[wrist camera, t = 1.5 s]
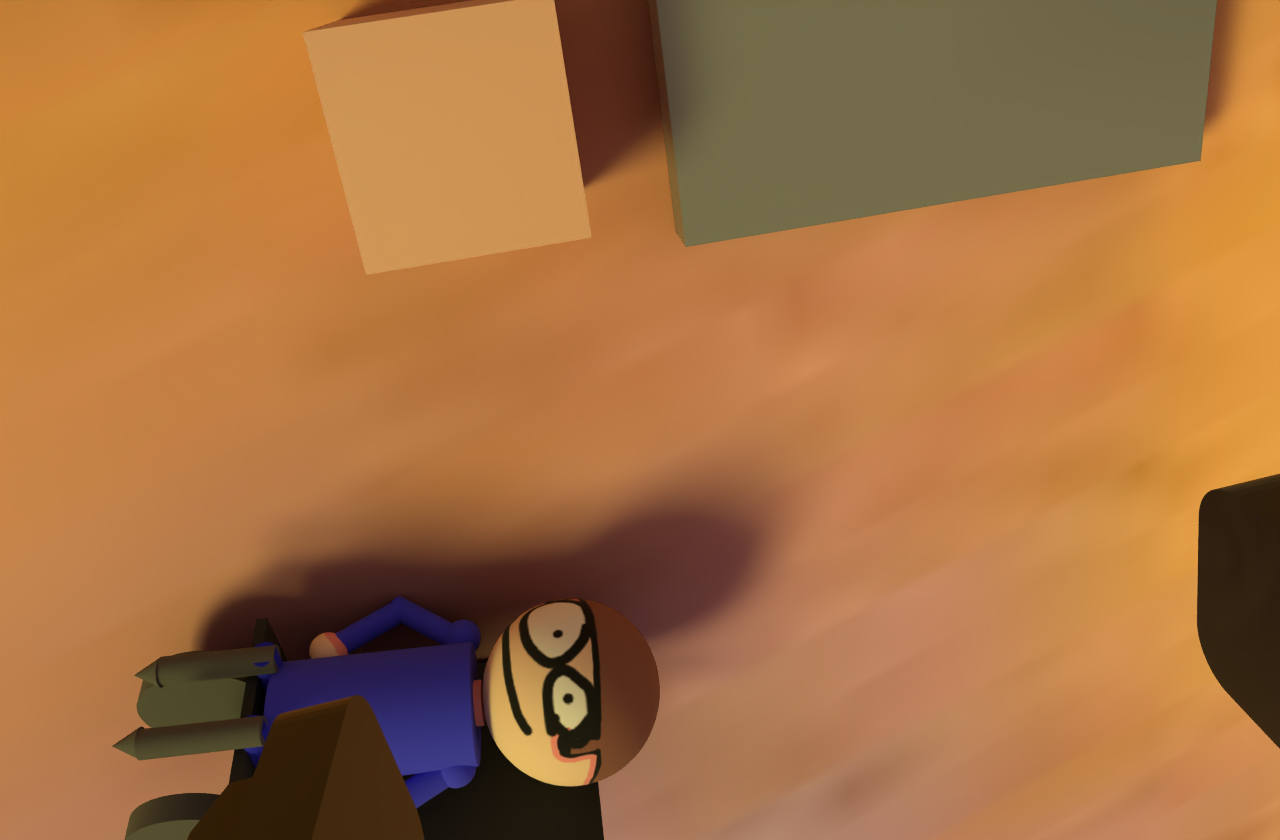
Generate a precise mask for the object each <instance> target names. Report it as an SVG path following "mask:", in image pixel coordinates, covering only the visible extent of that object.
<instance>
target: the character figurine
mask: <svg viewBox="0 0 1280 840" xmlns="http://www.w3.org/2000/svg"><path fill="white" fill-rule="evenodd" d="M401 623H402V624H404V625H406V626H408V627H409V628H411V629H413V630H415V631H417V632H419V633H421V634H423V635H424V636H426V637H428V638H430V639H432V640H434V641H436V642H438V643H440V644H441V645H437V646H427V647H418V648H408V649H399V650H389V651H380V652H370V653H361V654H351V655H348V654H349V653H351V652H352V651H354V650H356V649H358V648H359V647H361V646H363V645H365V644H366V643H368V642H370V641H372V640H373V639H375V638H377V637H379V636H380V635H382V634H384V633H386V632H387V631H389V630H391V629H393V628H394V627H396V626H398V625H400V624H401ZM480 640H481V634H480V631H479V628H478V627H477V625H476V624H475V623H473V622H472V621H469V620H458V621H456V622H454V623H451V622H449V621H448V620H446V619H444V618H442V617H440V616H438V615H436V614H434V613H432V612H430V611H428V610H426V609H424V608H422V607H421V606H419V605H417V604H415V603H413V602H411V601H409V600H407V599H405V598H403V597H401V596H398V597H396V598H395V599H394V600H393V601H392V602H391V603H389V604H387V605H386V606H384V607H382V608H380V609H378V610H377V611H375V612H373V613H371V614H369V615H368V616H366V617H364V618H362V619H360V620H359V621H357V622H355V623H353V624H351V625H350V626H348V627H346V628H344V629H343V630H341V631H339V632H337V633H331V632H327V633H322V634H320V635H318V636H317V637H316V638H315V639H314V640H313V641H312V643H311V645H310V649H309V654H310V658H311V659H304V660H295V661H288V660H287V658H286V656H285V654H284V652H283V650H282V648H281V646H280V644H279V642H278V640H277V637H276V635H275V633H274V631H273V629H272V627H271V625H270V623H269V621H268V619H267V618H265V619H257V620H256V626H255V632H254V638H253V644H252V647H251V648H241V649H231V650H222V651H192V652H185V653H180V654H176V655H172V656H164V657H160V658H159V659H157V660H156V661H155V662H153V663H152V664H150V665H149V666H147V667H146V668H144V669H143V670H141V671H140V672H138V673H137V674H135V675H134V676H136V677H139V678H141V679H143V682H142V686H141V690H140V694H139V698H138V702H137V711H138V714H139V716H140V717H141V719H142V720H143V721H144V722H145V723H146V724H147V725H149V726H150V727H152V728H147V729H144V728H143V727H139V728H138V729H137V730H135V731H134V732H132V733H131V734H129V735H128V736H126V737H125V738H123V739H122V740H120V741H119V742H118V743H116V744H115V745H113V747H115V748H117V749H119V750H121V751H123V752H125V753H127V754H129V755H131V756H133V757H135V758H137V759H138V760H147V759H156V758H164V757H173V756H182V755H191V754H200V753H209V752H217V751H226V750H234V756H233V762H232V768H231V774H230V780H229V783H231V782H235V781H239V780H244V779H248V778H252V777H253V775H254V772H255V770H256V767H257V764H258V761H259V758H260V756H261V753H262V750H263V747H264V744H265V742H266V739H267V736H268V733H269V731H270V728H271V725H272V723H273V721H274V720H275V718H276V717H277V716H278V715H279V714H281V713H284V712H288V711H293V710H297V709H301V708H305V707H309V706H313V705H317V704H321V703H326V702H330V701H334V700H338V699H342V698H346V697H350V696H354V695H360V696H362V697H364V698H365V699H366V700H367V701H368V703H369V704H370V706H371V708H372V710H373V712H374V714H375V716H376V718H377V720H378V723H379V725H380V727H381V730H382V732H383V734H384V736H385V739H386V741H387V743H388V745H389V748H390V750H391V752H392V754H393V757H394V759H395V761H396V763H397V766H398V768H399V770H400V772H401V775H402V777H403V779H404V781H405V784H406V786H407V788H408V790H409V793H410V795H411V797H412V800H413V802H414V804H415V806H416V809H417V811H418V815H419V818H420V821H421V825H422V830H423V835H424V840H604V835H603V825H602V816H601V806H600V797H599V787H598V781H600V780H603V779H605V778H607V777H609V776H611V775H613V774H615V773H616V772H618V771H619V770H621V769H622V768H623V767H625V766H626V765H627V764H628V763H629V762H630V761H631V760H632V759H633V758H634V757H635V756H636V755H637V754H638V753H639V751H640V750H641V749H642V747H643V746H644V744H645V742H646V741H647V739H648V737H649V735H650V733H651V731H652V729H653V726H654V723H655V720H656V716H657V711H658V707H659V699H660V686H659V677H658V670H657V666H656V662H655V660H654V657H653V654H652V652H651V650H650V648H649V646H648V644H647V642H646V640H645V639H644V637H643V636H642V634H641V633H640V632H639V630H638V629H637V628H636V627H635V626H634V625H633V624H632V623H631V622H630V621H629V620H628V619H627V618H626V617H624V616H623V615H622V614H620V613H619V612H617V611H616V610H614V609H612V608H610V607H609V606H606V605H604V604H601V603H599V602H595V601H592V600H587V599H579V598H564V599H557V600H552V601H548V602H545V603H542V604H540V605H537V606H535V607H533V608H531V609H529V610H528V611H526V612H525V613H523V614H522V615H520V616H519V617H518V618H516V619H515V620H514V621H513V622H512V623H511V624H510V625H509V626H508V627H507V628H506V629H505V630H504V632H503V633H502V634H501V636H500V637H499V639H498V640H497V642H496V643H495V645H494V647H493V649H492V651H491V653H490V656H489V658H488V661H487V662H481V663H477V661H476V654H475V650H476V649H477V648H478V646H479V644H480ZM219 796H220V795H217V794H207V793H184V794H175V795H168V796H163V797H159V798H156V799H153V800H150V801H148V802H146V803H143V804H142V805H140V806H139V807H137V808H136V809H135V810H134V811H133V812H132V813H131V815H130V818H129V823H128V827H127V831H126V835H125V840H187V838H188V836H189V833H190V832H191V831H192V829H193V828H194V827H195V826H196V825H197V823H198V822H199V821H200V820H201V818H202V817H203V816H204V815H205V813H206V812H207V811H208V810H209V808H210V807H211V806H212V805H213V803H214V802H215V801H216V800H217V798H218V797H219Z"/></svg>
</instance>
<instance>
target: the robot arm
mask: <svg viewBox="0 0 1280 840" xmlns="http://www.w3.org/2000/svg"><path fill="white" fill-rule="evenodd" d="M1197 628H1198V635H1199V639H1200V643H1201V647H1202V650H1203V653H1204V655H1205V658H1206V660H1207V662H1208V664H1209V666H1210V668H1211V670H1212V672H1213V674H1214V675H1215V677H1216V679H1217V680H1218V682H1219V683H1220V684H1221V686H1222V687H1223V688H1224V690H1225V691H1226V692H1227V693H1228V694H1229V695H1230V696H1231V697H1232V698H1233V699H1234V701H1235V702H1236V703H1237V704H1238V705H1239V706H1240V707H1241V708H1242V709H1243V710H1244V711H1245V712H1246V713H1247V714H1248V715H1249V716H1250V718H1251V719H1252V720H1253V721H1254V722H1255V723H1256V724H1257V725H1258V726H1259V727H1260V728H1261V729H1262V730H1263V731H1264V732H1265V733H1266V735H1267V736H1268V737H1269V738H1270V739H1271V740H1272V741H1273V742H1274V743H1275V744H1276V745H1277V746H1278V747H1279V748H1280V474H1277V475H1272V476H1268V477H1264V478H1260V479H1256V480H1252V481H1248V482H1244V483H1239V484H1235V485H1231V486H1227V487H1223V488H1219V489H1215V490H1211V491H1209V492H1208V493H1207V494H1206V495H1205V496H1204V497H1203V499H1202V501H1201V505H1200V509H1199V536H1198V595H1197ZM187 840H424V835H423V830H422V825H421V821H420V818H419V815H418V811H417V809H416V806H415V804H414V802H413V800H412V797H411V795H410V793H409V790H408V788H407V786H406V784H405V781H404V779H403V777H402V775H401V772H400V770H399V768H398V766H397V763H396V761H395V759H394V757H393V754H392V752H391V750H390V748H389V745H388V743H387V741H386V739H385V736H384V734H383V732H382V730H381V727H380V725H379V723H378V720H377V718H376V716H375V714H374V712H373V710H372V708H371V706H370V704H369V703H368V701H367V700H366V699H365V698H364V697H362V696H360V695H354V696H350V697H346V698H342V699H338V700H334V701H330V702H326V703H321V704H317V705H313V706H309V707H305V708H301V709H297V710H293V711H288V712H284V713H281V714H279V715H278V716H277V717H276V718H275V720H274V721H273V723H272V725H271V728H270V731H269V733H268V736H267V739H266V742H265V744H264V747H263V750H262V753H261V756H260V758H259V761H258V764H257V767H256V770H255V772H254V775H253V777H252V778H248V779H244V780H239V781H235V782H231V783H229V785H228V786H227V787H226V788H225V790H224V791H223V792H222V793H221V795H220V796H219V797H218V798H217V800H216V801H215V802H214V803H213V805H212V806H211V807H210V808H209V810H208V811H207V812H206V813H205V815H204V816H203V817H202V818H201V820H200V821H199V822H198V823H197V825H196V826H195V827H194V828H193V829H192V831H191V832H190V833H189V836H188V838H187Z"/></svg>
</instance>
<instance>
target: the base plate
mask: <svg viewBox="0 0 1280 840" xmlns="http://www.w3.org/2000/svg"><path fill="white" fill-rule="evenodd" d="M1216 6H1217V0H648V7H649V16H650V24H651V32H652V40H653V48H654V57H655V65H656V73H657V81H658V89H659V98H660V106H661V114H662V122H663V130H664V139H665V147H666V155H667V163H668V171H669V179H670V188H671V196H672V204H673V212H674V220H675V229H676V233H677V235H678V236H679V238H680V239H681V241H682V242H683V244H684V245H685V247H688V246H694V245H700V244H706V243H712V242H718V241H724V240H730V239H736V238H742V237H748V236H754V235H760V234H766V233H772V232H778V231H784V230H789V229H795V228H801V227H807V226H813V225H819V224H825V223H831V222H837V221H843V220H849V219H855V218H861V217H867V216H873V215H879V214H885V213H891V212H897V211H903V210H909V209H915V208H921V207H927V206H933V205H939V204H945V203H951V202H957V201H963V200H969V199H975V198H981V197H986V196H992V195H998V194H1004V193H1010V192H1016V191H1022V190H1028V189H1034V188H1040V187H1046V186H1052V185H1058V184H1064V183H1070V182H1076V181H1082V180H1088V179H1094V178H1100V177H1106V176H1112V175H1118V174H1124V173H1130V172H1136V171H1142V170H1148V169H1154V168H1160V167H1166V166H1172V165H1178V164H1184V163H1189V162H1195V161H1201V151H1202V141H1203V132H1204V122H1205V112H1206V103H1207V93H1208V83H1209V74H1210V64H1211V54H1212V45H1213V35H1214V25H1215V16H1216Z"/></svg>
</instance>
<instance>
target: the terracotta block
mask: <svg viewBox="0 0 1280 840" xmlns="http://www.w3.org/2000/svg"><path fill="white" fill-rule="evenodd" d="M303 35H304V39H305V43H306V47H307V50H308V54H309V58H310V62H311V66H312V70H313V73H314V77H315V81H316V85H317V89H318V93H319V96H320V100H321V104H322V108H323V112H324V116H325V119H326V123H327V127H328V131H329V135H330V139H331V142H332V146H333V150H334V154H335V158H336V162H337V165H338V169H339V173H340V177H341V181H342V185H343V188H344V192H345V196H346V200H347V204H348V207H349V211H350V215H351V219H352V223H353V227H354V230H355V234H356V238H357V242H358V246H359V250H360V253H361V257H362V261H363V265H364V269H365V273H366V275H368V274H374V273H380V272H386V271H392V270H398V269H404V268H410V267H416V266H422V265H428V264H435V263H441V262H447V261H453V260H459V259H465V258H471V257H477V256H483V255H489V254H495V253H501V252H507V251H513V250H519V249H525V248H531V247H538V246H544V245H550V244H556V243H562V242H568V241H574V240H580V239H586V238H592V237H591V231H590V224H589V218H588V212H587V205H586V199H585V192H584V186H583V180H582V173H581V167H580V161H579V154H578V148H577V142H576V135H575V129H574V123H573V116H572V110H571V104H570V97H569V91H568V85H567V78H566V72H565V66H564V59H563V53H562V47H561V40H560V34H559V28H558V21H557V15H556V9H555V2H554V0H469V1H463V2H456V3H449V4H443V5H436V6H429V7H423V8H416V9H409V10H403V11H396V12H389V13H383V14H376V15H369V16H363V17H356V18H349V19H343V20H338V21H335V22H332V23H329V24H326V25H323V26H320V27H317V28H314V29H311V30H308V31H305V32H303Z"/></svg>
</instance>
